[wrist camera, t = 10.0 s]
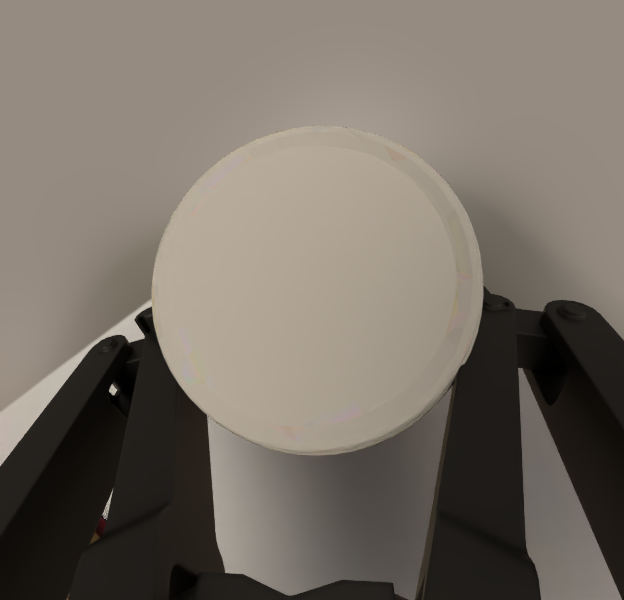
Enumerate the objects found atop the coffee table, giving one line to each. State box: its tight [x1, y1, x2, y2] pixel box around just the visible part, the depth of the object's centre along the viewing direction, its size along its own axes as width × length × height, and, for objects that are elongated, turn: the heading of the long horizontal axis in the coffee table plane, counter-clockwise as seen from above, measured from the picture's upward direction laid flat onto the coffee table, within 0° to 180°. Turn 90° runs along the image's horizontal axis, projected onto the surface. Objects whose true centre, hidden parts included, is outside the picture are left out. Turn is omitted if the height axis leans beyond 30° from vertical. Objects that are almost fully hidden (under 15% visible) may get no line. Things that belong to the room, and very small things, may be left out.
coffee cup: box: [151, 126, 484, 456], centre depth 13 cm, size 9×9×12 cm
